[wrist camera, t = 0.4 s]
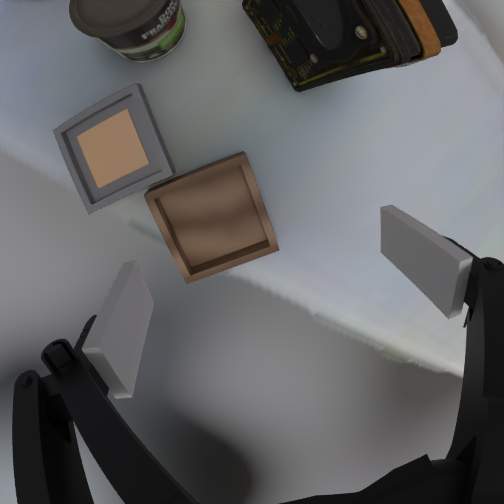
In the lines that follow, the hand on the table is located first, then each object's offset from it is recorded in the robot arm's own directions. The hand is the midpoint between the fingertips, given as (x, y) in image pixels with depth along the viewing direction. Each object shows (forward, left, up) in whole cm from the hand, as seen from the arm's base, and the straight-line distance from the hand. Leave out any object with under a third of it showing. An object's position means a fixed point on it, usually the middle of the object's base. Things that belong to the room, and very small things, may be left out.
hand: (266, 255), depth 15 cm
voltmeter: (-15, +13, -27) cm, 33 cm away
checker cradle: (-9, -14, -26) cm, 31 cm away
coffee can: (-23, -4, -27) cm, 36 cm away
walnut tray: (+5, -5, -26) cm, 27 cm away
